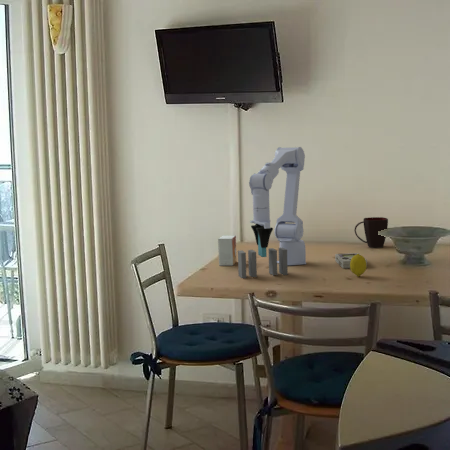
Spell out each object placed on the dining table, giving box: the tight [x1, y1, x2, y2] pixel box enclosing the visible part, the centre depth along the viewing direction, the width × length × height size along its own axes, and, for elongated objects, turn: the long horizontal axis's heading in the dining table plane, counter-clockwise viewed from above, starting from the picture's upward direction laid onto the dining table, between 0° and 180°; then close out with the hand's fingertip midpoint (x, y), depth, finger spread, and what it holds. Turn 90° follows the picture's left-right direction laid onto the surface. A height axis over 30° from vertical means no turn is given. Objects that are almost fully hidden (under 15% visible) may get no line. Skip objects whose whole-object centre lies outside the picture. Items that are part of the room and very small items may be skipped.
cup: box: [354, 216, 389, 249], centre depth 290 cm, size 10×14×12 cm
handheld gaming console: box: [334, 252, 368, 270], centre depth 256 cm, size 9×4×15 cm
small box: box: [217, 235, 238, 266], centre depth 265 cm, size 8×6×10 cm
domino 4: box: [278, 247, 288, 276], centre depth 244 cm, size 2×5×9 cm, turn 13°
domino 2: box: [247, 249, 258, 278], centre depth 241 cm, size 2×5×9 cm, turn 13°
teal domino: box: [257, 234, 268, 258], centre depth 241 cm, size 2×5×9 cm, turn 13°
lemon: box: [349, 253, 367, 277], centre depth 235 cm, size 6×6×8 cm
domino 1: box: [237, 249, 247, 279], centre depth 240 cm, size 2×5×9 cm, turn 13°
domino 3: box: [267, 247, 278, 277], centre depth 243 cm, size 2×5×9 cm, turn 13°
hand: (262, 246), depth 241 cm, fingers closed on teal domino, 5 cm apart
